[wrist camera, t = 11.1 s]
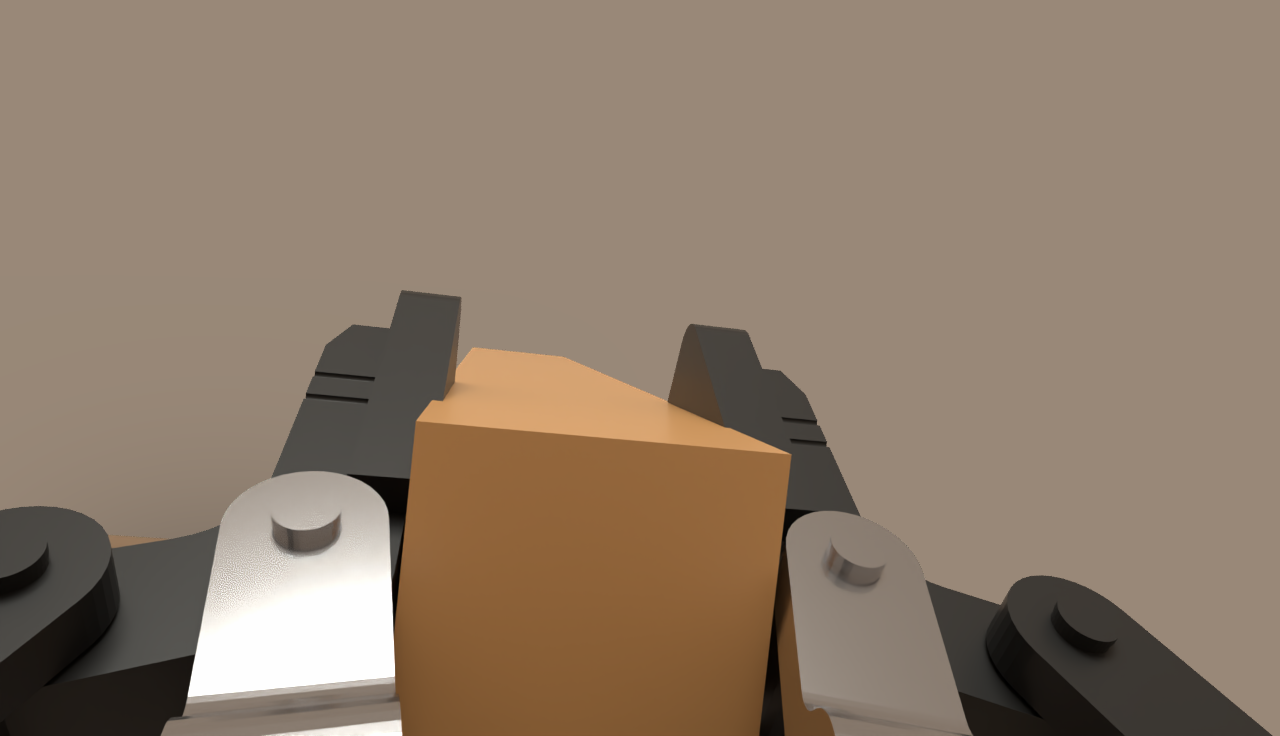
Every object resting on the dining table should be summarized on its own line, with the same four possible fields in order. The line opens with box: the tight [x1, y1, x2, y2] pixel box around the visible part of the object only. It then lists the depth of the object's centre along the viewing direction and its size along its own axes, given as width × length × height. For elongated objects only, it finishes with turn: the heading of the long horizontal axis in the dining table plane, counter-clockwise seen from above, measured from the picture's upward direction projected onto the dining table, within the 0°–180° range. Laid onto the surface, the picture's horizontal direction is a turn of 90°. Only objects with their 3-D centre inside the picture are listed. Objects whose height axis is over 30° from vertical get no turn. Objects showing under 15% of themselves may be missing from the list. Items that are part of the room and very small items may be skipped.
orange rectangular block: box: [393, 347, 792, 736], centre depth 18 cm, size 22×3×2 cm, turn 10°
